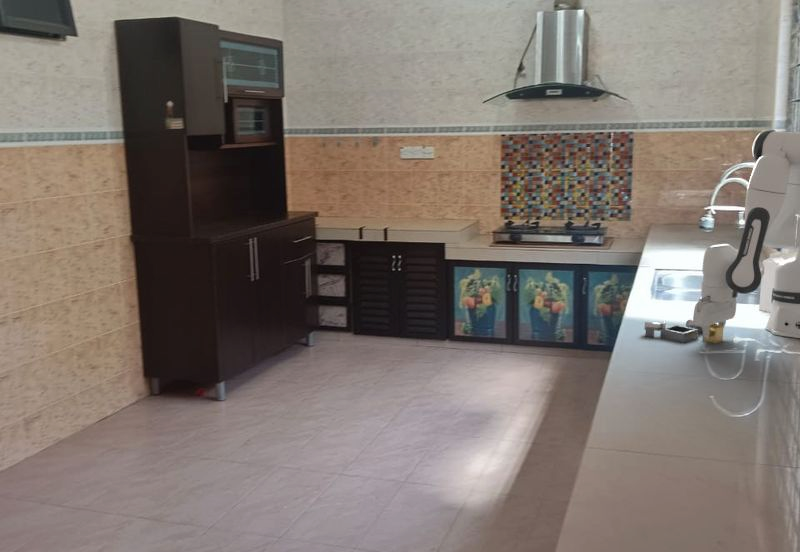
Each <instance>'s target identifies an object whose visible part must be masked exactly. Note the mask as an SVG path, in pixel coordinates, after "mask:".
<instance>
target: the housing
mask: <svg viewBox="0 0 800 552" xmlns="http://www.w3.org/2000/svg"><path fill="white" fill-rule="evenodd" d="M659 335H660V338H661V339H664V340H669V341H674V342H678V343H683V344H685V343H687V342H691V341H694V340H696V339H698V338H699V333H698V329H694V328H689V327H686V326H684V325H679V324H673V325H669V326H665V329H661V331H660V334H659Z"/></svg>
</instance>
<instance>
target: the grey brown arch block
mask: <svg viewBox="0 0 800 552" xmlns="http://www.w3.org/2000/svg"><path fill="white" fill-rule="evenodd" d="M665 327H667V325H666V321H662V322H652V321H651V322H647V321H644V331H645V338H654V337H655V331H659V332H661V329H665Z"/></svg>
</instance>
